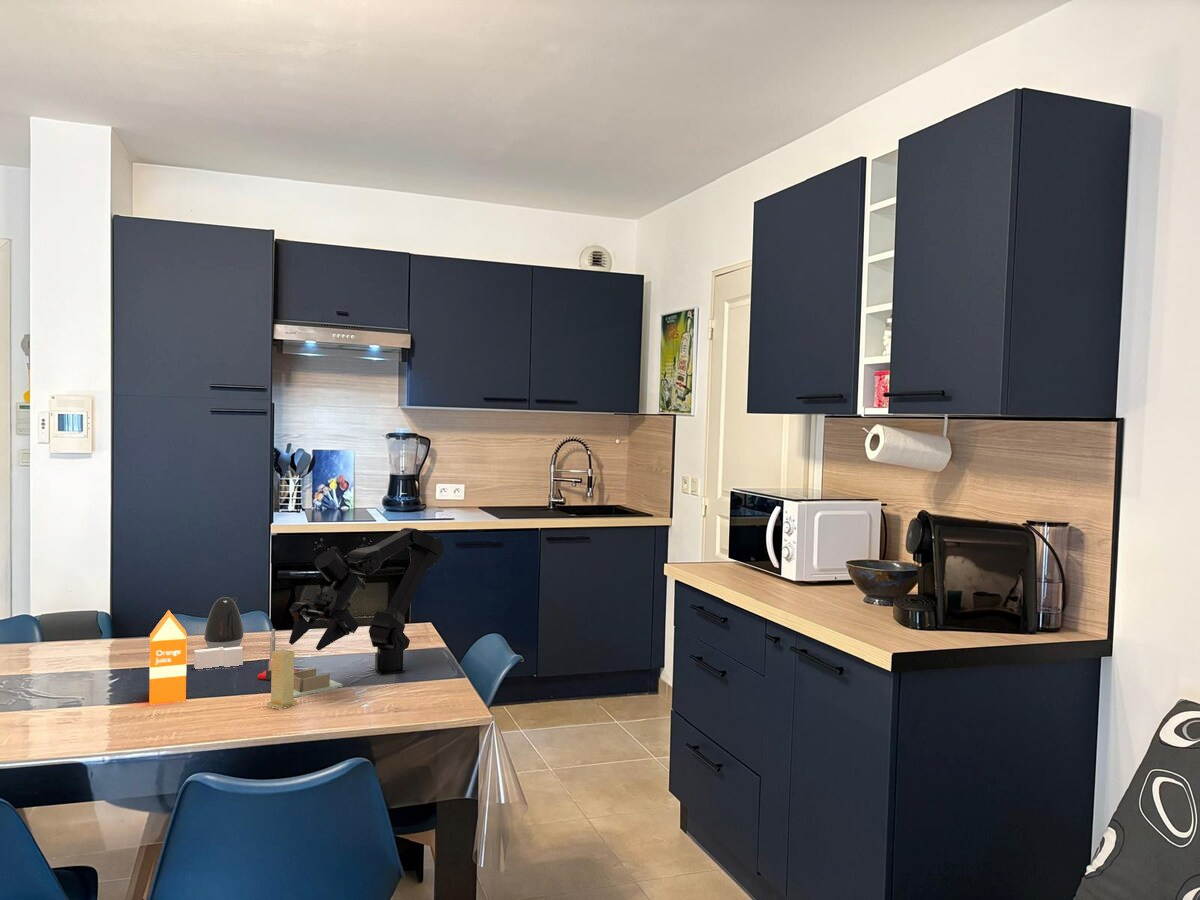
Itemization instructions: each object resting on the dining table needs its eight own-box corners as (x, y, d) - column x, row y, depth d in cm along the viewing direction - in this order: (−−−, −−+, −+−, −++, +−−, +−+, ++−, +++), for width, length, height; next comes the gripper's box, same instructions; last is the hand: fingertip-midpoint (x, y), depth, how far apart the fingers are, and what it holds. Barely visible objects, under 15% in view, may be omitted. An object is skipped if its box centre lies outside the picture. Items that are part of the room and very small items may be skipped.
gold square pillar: (285, 701, 202) (286, 648, 201) (296, 704, 200) (297, 650, 199) (267, 706, 197) (268, 652, 197) (279, 710, 195) (280, 655, 195)
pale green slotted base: (323, 679, 220) (324, 665, 220) (342, 686, 214) (342, 672, 214) (275, 689, 210) (275, 674, 210) (293, 697, 204) (293, 682, 204)
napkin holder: (181, 674, 223) (181, 652, 223) (205, 662, 234) (205, 641, 234) (235, 677, 221) (236, 655, 221) (258, 665, 233) (258, 644, 232)
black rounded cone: (251, 647, 249) (252, 595, 249) (227, 656, 239) (228, 601, 238) (220, 644, 251) (221, 592, 251) (196, 653, 241) (196, 599, 241)
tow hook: (273, 671, 227) (253, 679, 218) (275, 622, 227) (256, 628, 218) (302, 674, 226) (284, 682, 217) (305, 624, 226) (287, 630, 217)
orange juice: (148, 705, 197) (149, 618, 196) (148, 694, 204) (150, 610, 204) (186, 700, 200) (187, 615, 200) (185, 690, 208) (186, 608, 208)
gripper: (296, 569, 212) (257, 621, 203) (350, 577, 203) (312, 632, 194) (320, 596, 219) (284, 648, 210) (374, 605, 210) (338, 660, 201)
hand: (303, 646), depth 203 cm, fingers open, 9 cm apart
